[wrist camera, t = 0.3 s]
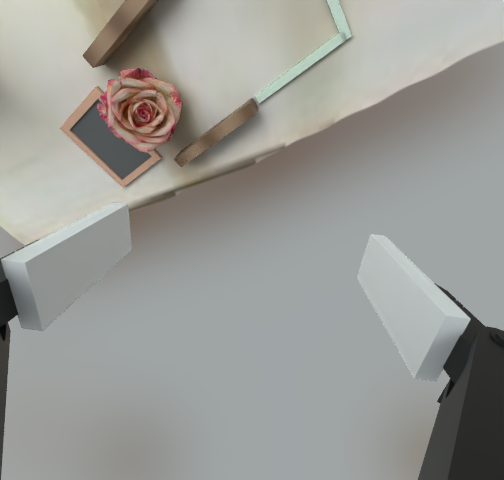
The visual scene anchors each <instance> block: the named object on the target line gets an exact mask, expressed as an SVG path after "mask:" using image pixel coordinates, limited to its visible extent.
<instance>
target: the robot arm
mask: <svg viewBox="0 0 504 480" xmlns="http://www.w3.org/2000/svg"><path fill="white" fill-rule="evenodd" d="M129 251H131V237H130V225H129V211H128V204H124V203H116V202H113V203H111V204H109V205H107V206H105V207H103V208H101V209H100V210H98V211H96V212H94V213H92V214H90V215H88V216H86V217H84V218H82V219H80V220H78V221H76V222H74V223H72V224H70V225H68V226H66V227H64V228H62V229H60V230H58V231H56V232H54V233H52V234H50V235H48V236H46V237H44V238H42V239H40V240H36V241H34V242H32V243H30V244H28V245H26V247H22V248H21V249H18V250H17V251H16V252H12V253H11V254H8V255H7V256H5V257H2V258H1V259H0V480H1V468H2V453H3V436H4V422H5V406H6V391H7V374H8V359H9V344H10V328H9V325H8V321H10V320H11V319H12V318H14V317H15V316H16V315H18V318H19V321H20V324H21V327H22V328H24V329H32V330H39V331H44V330H45V329H46V328H47V327H48V326H49V325H50V324H51V323H52V322H53V321H54V320H56V319H57V318H58V317H59V316H60V315H61V314H62V313H63V312H64V311H65V310H66V309H68V307H70V306H71V305H72V304H73V303H74V302H75V301H76V300H77V299H78V298H80V297H81V296H82V295H83V294H84V293H85V292H86V291H87V290H88V289H89V288H90V287H91V286H93V285H94V284H95V283H96V282H97V281H98V280H99V279H100V278H101V277H102V276H103V275H105V274H106V273H107V272H108V271H109V270H110V269H111V268H112V267H113V266H114V265H115V264H117V263H118V262H119V261H120V260H121V259H122V258H123V257H124V256H125V255H126V254H127V253H129ZM357 279H358V281H359V283H360V285H361V286H362V288H363V290H364V291H365V293H366V295H367V297H368V298H369V300H370V302H371V304H372V305H373V307H374V309H375V311H376V312H377V314H378V316H379V318H380V320H381V321H382V323H383V325H384V327H385V328H386V330H387V332H388V333H389V335H390V337H391V339H392V340H393V342H394V344H395V346H396V348H397V349H398V351H399V353H400V355H401V356H402V358H403V360H404V362H405V364H406V365H407V367H408V369H409V371H410V372H411V374H412V376H413V378H414V379H421V380H429V381H437V379H438V377H439V375H440V374H441V372H442V370H443V368H444V370H445V371H446V373H447V374H448V375H449V377H450V380H449V382H448V384H447V385H446V387H445V389H444V390H443V392H442V394H441V396H440V397H439V399H438V401H437V402H439V403H440V408H439V411H438V414H437V418H436V421H435V424H434V427H433V431H432V434H431V437H430V441H429V444H428V448H427V451H426V454H425V457H424V461H423V464H422V467H421V471H420V474H419V477H418V480H504V331H502V330H499V329H497V328H492V327H485V326H484V325H483V324H482V323H481V322H480V321H479V320H478V319H477V318H475V317H474V316H473V315H472V314H471V313H470V312H469V311H468V310H467V309H466V308H465V307H463V305H462V304H461V303H459V302H458V301H456V299H455V298H454V297H453V296H452V295H451V294H450V293H449V292H448V291H446V290H445V289H443V288H442V287H440V286H438V285H436V284H435V283H433V282H432V281H431V280H430V279H429V278H428V277H427V276H426V275H425V274H424V273H423V272H422V271H421V270H420V269H419V268H418V267H417V266H415V264H413V263H412V262H411V261H410V260H409V259H408V258H407V257H406V256H405V255H404V254H403V253H402V252H401V251H400V250H399V249H398V248H397V247H396V246H395V245H394V244H393V243H392V242H391V241H390V240H389V239H388V238H386V236H382V235H374V234H370V237H369V240H368V244H367V247H366V250H365V253H364V257H363V260H362V263H361V266H360V269H359V272H358V276H357Z"/></svg>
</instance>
